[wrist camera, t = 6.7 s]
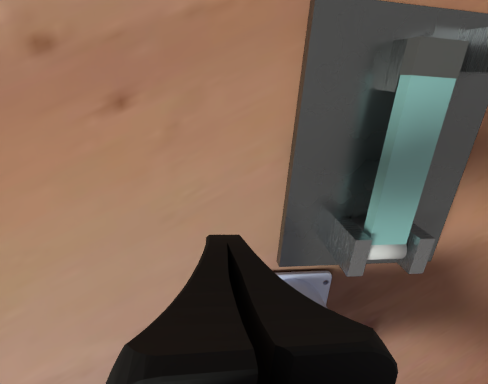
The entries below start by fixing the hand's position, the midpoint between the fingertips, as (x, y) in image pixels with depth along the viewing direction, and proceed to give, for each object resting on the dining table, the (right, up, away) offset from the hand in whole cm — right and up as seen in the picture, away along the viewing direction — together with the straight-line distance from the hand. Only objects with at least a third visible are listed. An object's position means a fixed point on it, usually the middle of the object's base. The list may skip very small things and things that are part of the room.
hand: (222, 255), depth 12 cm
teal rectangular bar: (+11, +5, +8) cm, 15 cm away
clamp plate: (+11, +6, +10) cm, 16 cm away
